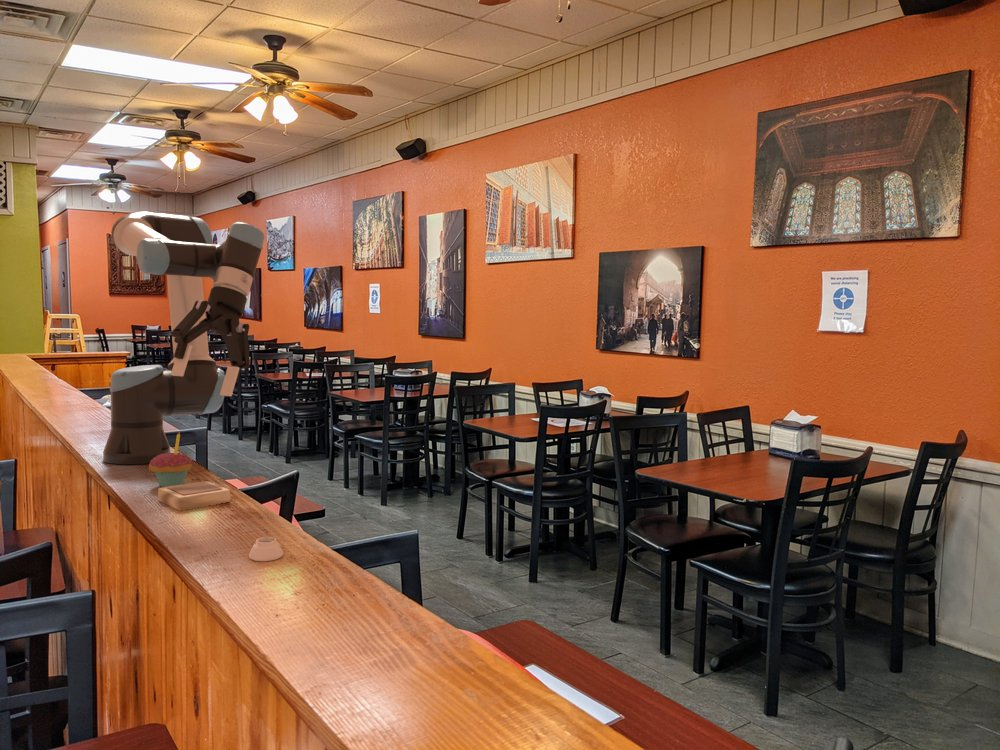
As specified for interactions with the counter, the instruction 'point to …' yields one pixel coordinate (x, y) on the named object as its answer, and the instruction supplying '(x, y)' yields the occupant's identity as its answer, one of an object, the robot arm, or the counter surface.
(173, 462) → the cupcake
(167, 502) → the square tray
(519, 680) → the counter surface
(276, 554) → the lidless jar
